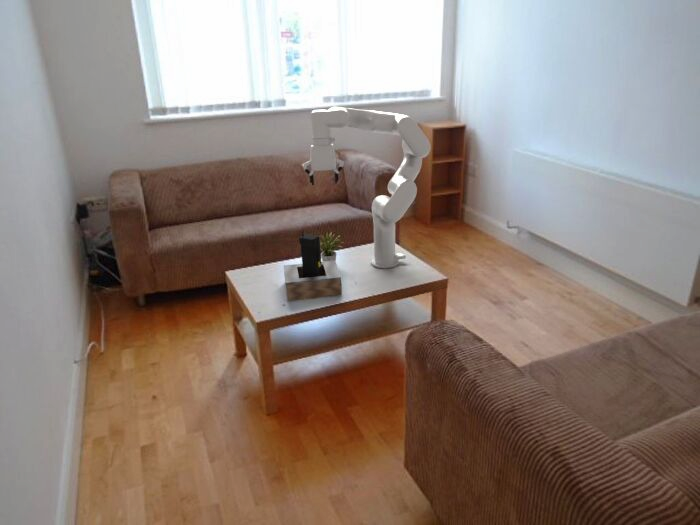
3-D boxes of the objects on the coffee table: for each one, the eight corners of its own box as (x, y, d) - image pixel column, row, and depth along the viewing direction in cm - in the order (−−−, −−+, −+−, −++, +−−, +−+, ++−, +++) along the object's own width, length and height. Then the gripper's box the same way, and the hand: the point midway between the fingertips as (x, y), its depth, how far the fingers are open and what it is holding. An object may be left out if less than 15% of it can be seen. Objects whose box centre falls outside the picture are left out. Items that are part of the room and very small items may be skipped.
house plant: (324, 276, 227) (322, 241, 221) (306, 267, 237) (303, 233, 231) (349, 267, 235) (348, 233, 229) (331, 259, 245) (329, 226, 239)
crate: (336, 277, 225) (335, 260, 222) (342, 295, 209) (341, 277, 206) (285, 282, 222) (283, 265, 219) (287, 301, 206) (285, 282, 203)
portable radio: (326, 286, 216) (322, 229, 207) (318, 292, 211) (314, 234, 202) (310, 282, 220) (306, 226, 210) (302, 288, 215) (297, 231, 206)
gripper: (341, 138, 213) (343, 179, 220) (299, 141, 211) (302, 183, 217) (344, 141, 206) (346, 184, 213) (301, 144, 204) (304, 187, 211)
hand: (324, 183), depth 215 cm, fingers open, 9 cm apart
